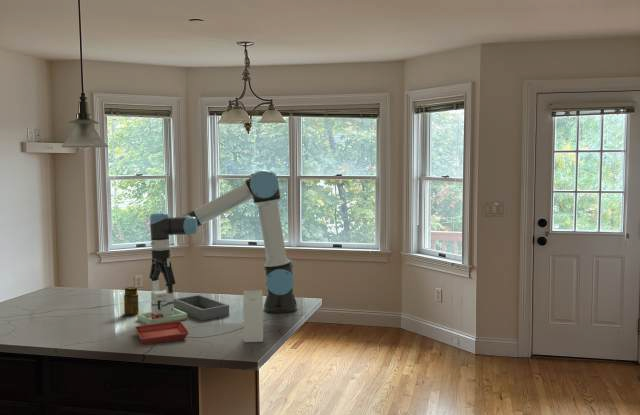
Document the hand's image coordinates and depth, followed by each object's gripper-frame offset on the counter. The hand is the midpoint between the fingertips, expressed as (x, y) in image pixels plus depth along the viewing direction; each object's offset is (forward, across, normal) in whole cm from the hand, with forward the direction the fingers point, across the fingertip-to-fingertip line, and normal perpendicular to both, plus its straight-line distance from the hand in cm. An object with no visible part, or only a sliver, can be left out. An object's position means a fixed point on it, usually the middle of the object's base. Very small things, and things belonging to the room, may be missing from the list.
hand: (163, 298), depth 255 cm
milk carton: (+10, +50, +14) cm, 52 cm away
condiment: (+9, -17, -8) cm, 21 cm away
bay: (+10, -1, +18) cm, 21 cm away
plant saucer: (+10, +23, -12) cm, 27 cm away
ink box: (+9, 0, 0) cm, 9 cm away
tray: (+9, 0, 0) cm, 9 cm away
